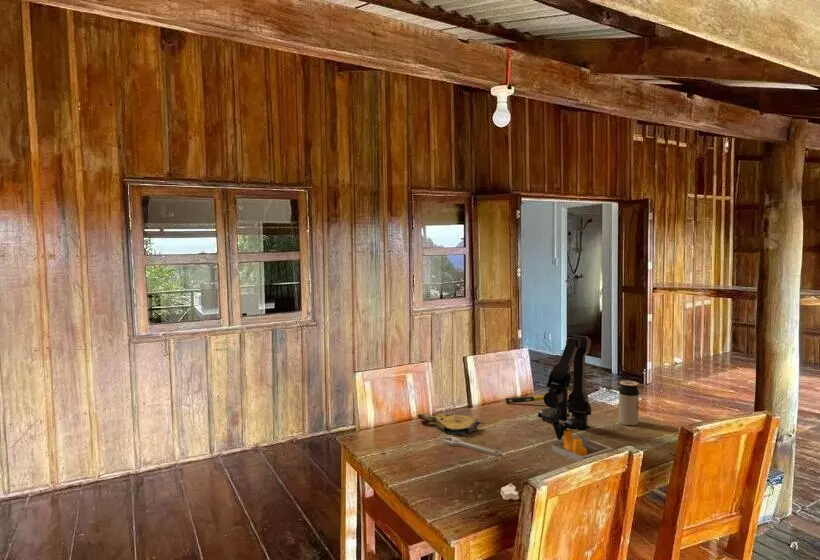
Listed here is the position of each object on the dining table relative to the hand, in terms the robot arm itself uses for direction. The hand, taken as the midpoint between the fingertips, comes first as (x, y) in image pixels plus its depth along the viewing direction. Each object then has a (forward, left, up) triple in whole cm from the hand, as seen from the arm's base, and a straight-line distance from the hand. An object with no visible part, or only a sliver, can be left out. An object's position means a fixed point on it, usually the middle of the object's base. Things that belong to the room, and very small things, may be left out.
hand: (559, 439), depth 214 cm
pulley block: (+26, -40, -2) cm, 47 cm away
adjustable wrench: (+32, -16, -2) cm, 36 cm away
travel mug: (-44, -1, -2) cm, 44 cm away
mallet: (-30, -43, -2) cm, 52 cm away
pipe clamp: (+1, +9, -2) cm, 9 cm away
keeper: (0, +11, -2) cm, 11 cm away
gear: (+46, +22, -2) cm, 51 cm away
